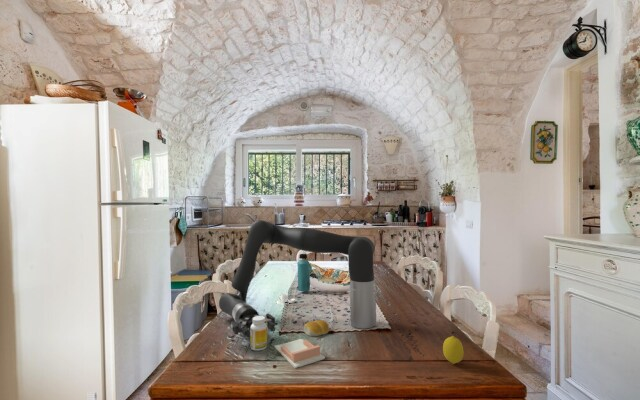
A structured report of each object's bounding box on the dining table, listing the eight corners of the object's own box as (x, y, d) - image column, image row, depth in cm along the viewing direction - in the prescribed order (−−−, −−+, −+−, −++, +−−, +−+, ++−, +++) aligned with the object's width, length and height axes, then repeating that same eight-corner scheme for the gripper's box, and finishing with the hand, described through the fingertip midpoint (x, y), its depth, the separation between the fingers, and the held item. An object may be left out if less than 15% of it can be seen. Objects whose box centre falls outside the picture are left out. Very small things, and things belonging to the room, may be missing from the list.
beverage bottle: (308, 294, 160) (308, 255, 160) (296, 294, 161) (295, 254, 161) (311, 291, 166) (311, 253, 166) (299, 290, 168) (298, 252, 168)
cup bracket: (274, 347, 103) (274, 338, 103) (301, 340, 108) (301, 331, 108) (295, 368, 90) (295, 357, 90) (324, 358, 95) (324, 348, 95)
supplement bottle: (247, 349, 102) (246, 319, 102) (257, 342, 107) (257, 314, 107) (260, 352, 100) (260, 322, 100) (270, 345, 105) (270, 316, 105)
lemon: (439, 359, 94) (439, 332, 94) (457, 358, 95) (457, 331, 95) (448, 369, 89) (448, 341, 89) (467, 368, 89) (467, 340, 89)
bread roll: (333, 332, 114) (333, 321, 114) (312, 339, 109) (312, 327, 109) (320, 325, 121) (320, 314, 121) (300, 331, 116) (300, 320, 116)
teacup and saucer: (297, 302, 149) (297, 293, 149) (287, 307, 143) (287, 298, 143) (283, 299, 154) (283, 291, 154) (272, 304, 147) (272, 295, 147)
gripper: (225, 308, 112) (238, 324, 98) (263, 301, 119) (281, 314, 105) (225, 330, 112) (239, 348, 98) (263, 321, 119) (281, 337, 105)
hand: (260, 330), depth 102 cm, fingers open, 8 cm apart
